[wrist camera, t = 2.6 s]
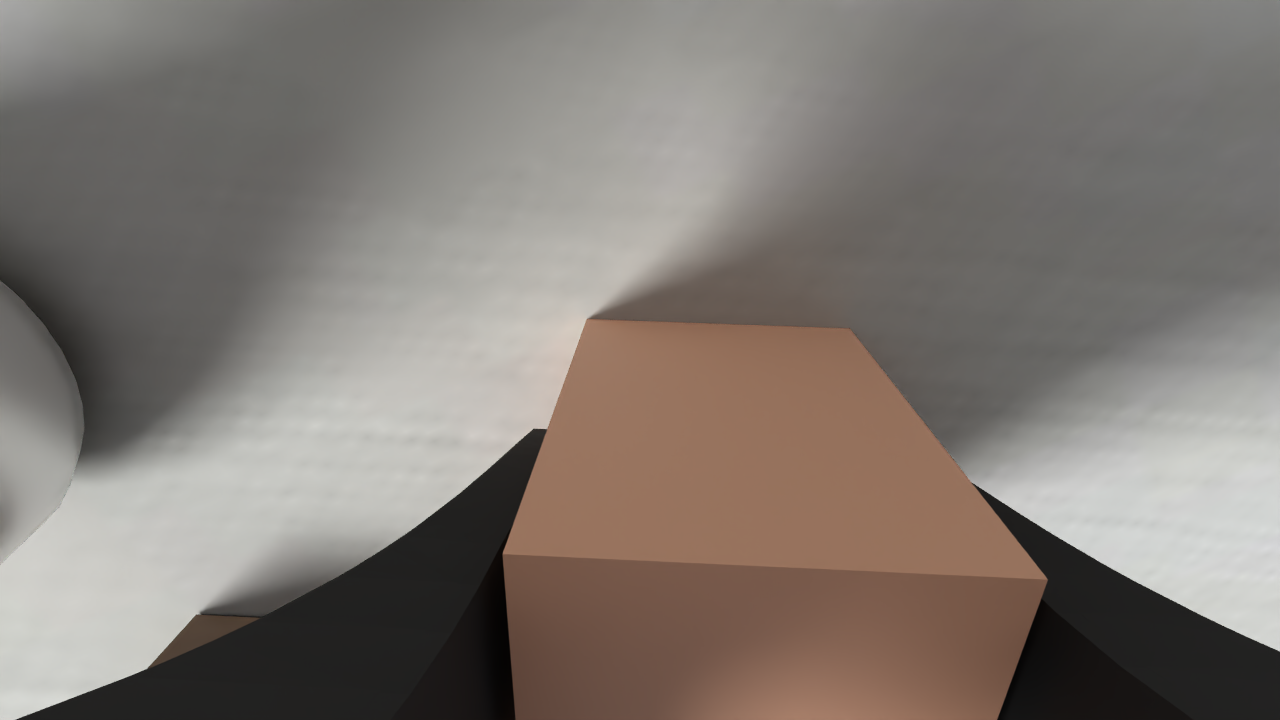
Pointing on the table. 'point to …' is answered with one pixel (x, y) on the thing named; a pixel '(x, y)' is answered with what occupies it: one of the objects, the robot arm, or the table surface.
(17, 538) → the plastic bottle
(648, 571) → the terracotta cube
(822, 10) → the table surface
